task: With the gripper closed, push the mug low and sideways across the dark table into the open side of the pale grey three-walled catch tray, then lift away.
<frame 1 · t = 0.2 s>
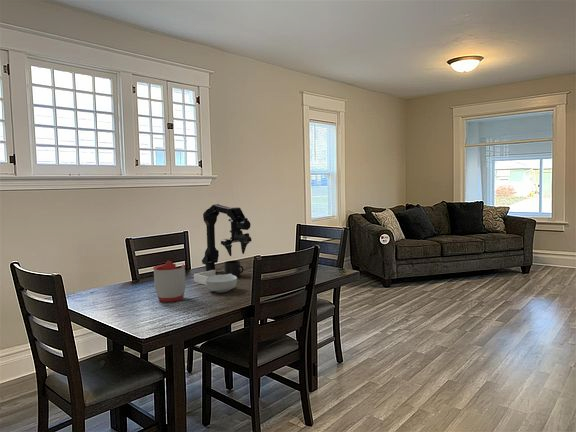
hand: (236, 254, 268), 14 cm above the table, tool pointing down, fingers open, 9 cm apart
mug: (234, 277, 275), on the table
catch tray: (214, 281, 265), on the table
cereal bowl: (221, 291, 242), on the table
citrus juicer: (172, 299, 229), on the table
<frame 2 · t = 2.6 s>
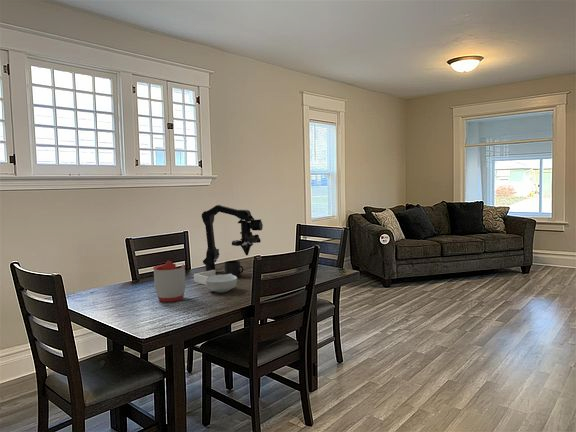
hand: (246, 255, 281), 12 cm above the table, tool pointing down, fingers closed
nothing on the table moved.
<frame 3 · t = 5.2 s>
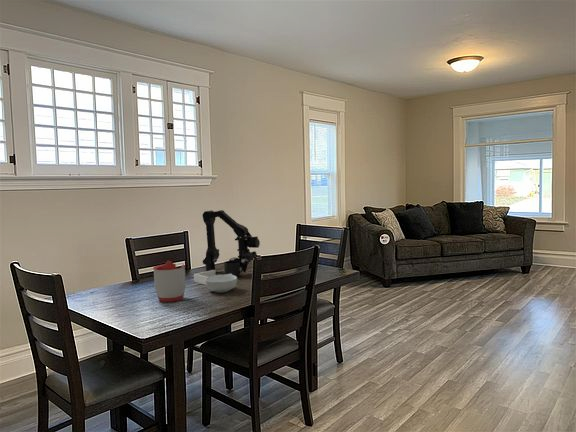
hand: (244, 272, 280), 1 cm above the table, tool pointing down, fingers closed
mug: (234, 276, 275), on the table, touching gripper
everything else where it was.
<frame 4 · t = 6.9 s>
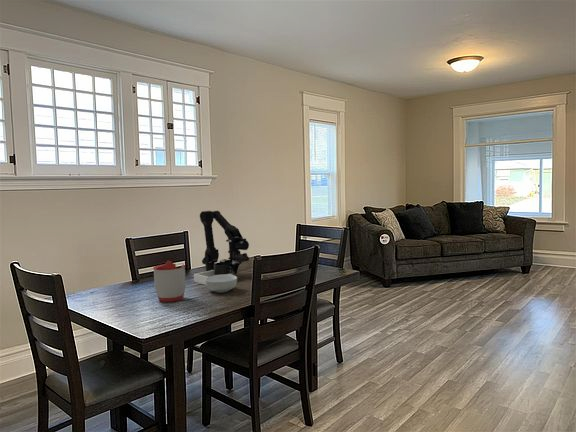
hand: (235, 274, 275), 1 cm above the table, tool pointing down, fingers closed
mug: (224, 278, 270), on the table, touching gripper
everything else where it was.
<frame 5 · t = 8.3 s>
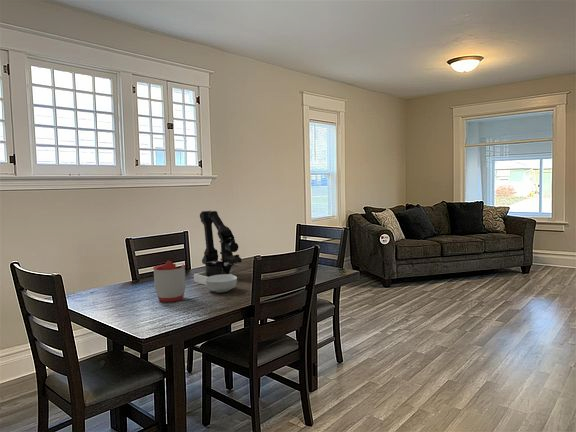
hand: (227, 276, 271), 1 cm above the table, tool pointing down, fingers closed, pressing on mug
mug: (216, 280, 266), on the table, touching gripper
everything else where it was.
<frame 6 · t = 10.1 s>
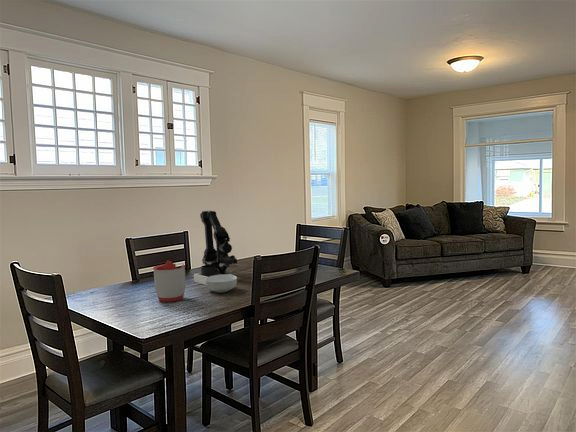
hand: (223, 277, 269), 1 cm above the table, tool pointing down, fingers closed, pressing on mug
mug: (212, 281, 264), on the table, touching gripper
everything else where it was.
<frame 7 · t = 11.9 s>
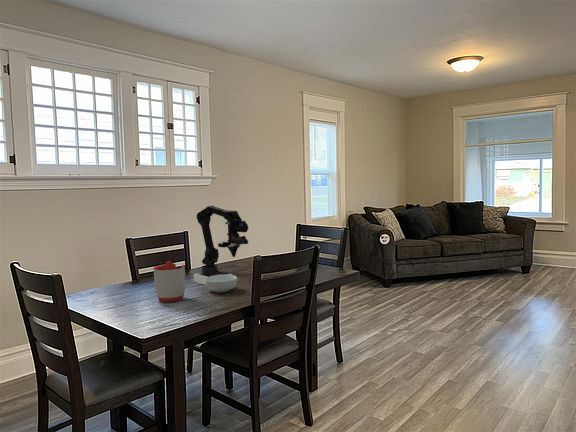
hand: (233, 257, 275), 12 cm above the table, tool pointing down, fingers closed
mug: (212, 281, 264), on the table
everything else where it was.
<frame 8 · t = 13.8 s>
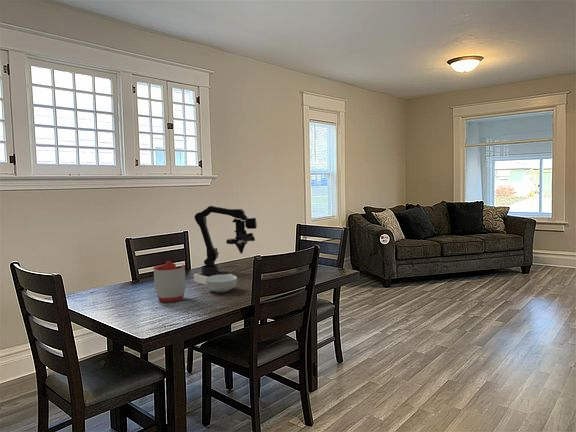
hand: (241, 253, 287), 12 cm above the table, tool pointing down, fingers closed
nothing on the table moved.
at the end: mug inside the target area (0.5 cm from its centre), on the table; mug moved 16.3 cm from its start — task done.
